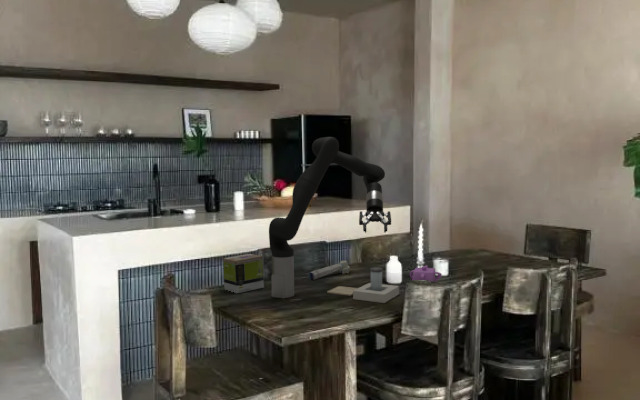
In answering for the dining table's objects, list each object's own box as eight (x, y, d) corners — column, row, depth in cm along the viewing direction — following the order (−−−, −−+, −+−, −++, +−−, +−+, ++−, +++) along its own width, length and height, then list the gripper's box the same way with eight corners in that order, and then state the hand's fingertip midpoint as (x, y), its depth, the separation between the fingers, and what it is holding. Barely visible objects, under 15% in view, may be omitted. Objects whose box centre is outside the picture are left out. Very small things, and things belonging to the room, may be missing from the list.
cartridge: (380, 299, 250) (380, 270, 249) (366, 297, 253) (366, 269, 252) (385, 295, 255) (385, 267, 254) (372, 294, 258) (372, 266, 257)
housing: (384, 303, 244) (384, 294, 243) (353, 299, 251) (353, 290, 250) (399, 294, 258) (399, 286, 257) (369, 290, 264) (368, 282, 264)
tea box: (251, 284, 278) (250, 252, 277) (264, 288, 271) (263, 255, 270) (223, 290, 269) (222, 257, 267) (236, 294, 261) (235, 260, 260)
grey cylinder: (306, 271, 288) (343, 257, 304) (308, 284, 289) (345, 269, 306) (314, 273, 284) (351, 258, 301) (315, 286, 285) (352, 271, 302)
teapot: (412, 283, 277) (412, 261, 276) (443, 285, 273) (443, 263, 272) (407, 293, 260) (407, 269, 259) (440, 294, 256) (440, 271, 255)
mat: (350, 295, 256) (350, 294, 256) (327, 292, 261) (327, 291, 261) (361, 290, 266) (361, 288, 266) (338, 287, 271) (338, 286, 271)
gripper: (358, 197, 273) (359, 226, 263) (390, 197, 272) (392, 226, 262) (359, 208, 279) (359, 236, 269) (390, 208, 278) (391, 236, 268)
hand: (375, 231), depth 265 cm, fingers open, 8 cm apart
